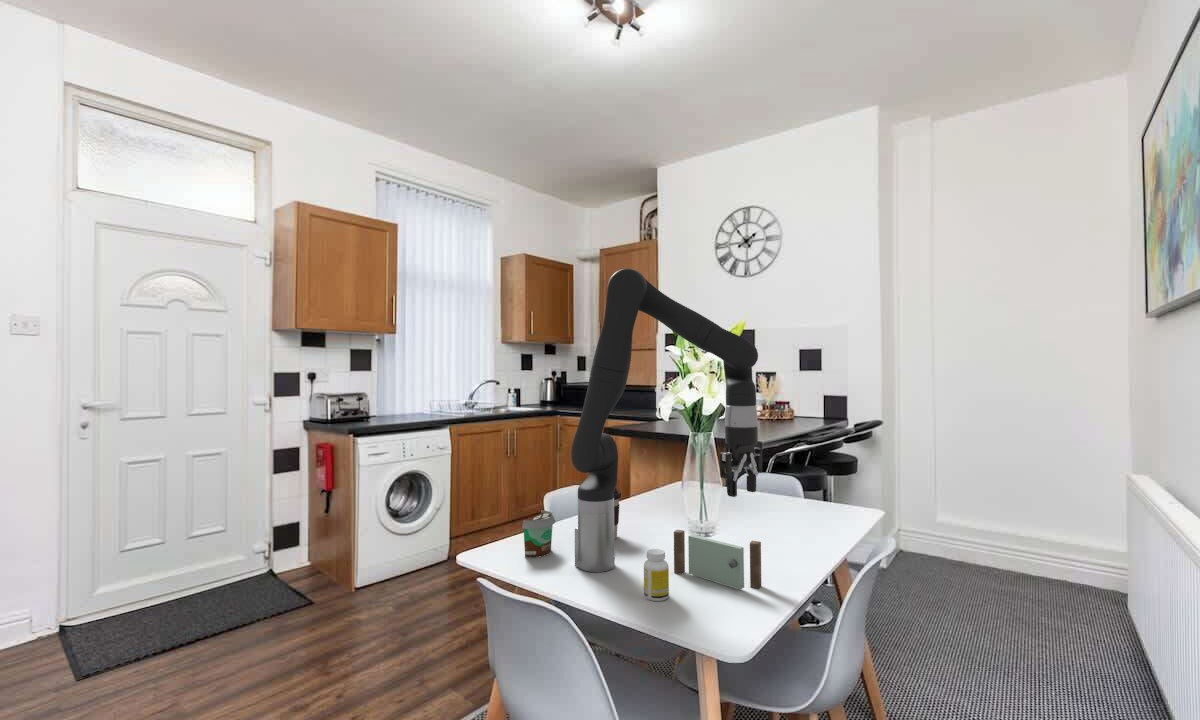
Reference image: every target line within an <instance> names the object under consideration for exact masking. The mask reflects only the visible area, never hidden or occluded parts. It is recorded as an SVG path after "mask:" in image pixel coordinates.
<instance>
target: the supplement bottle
mask: <svg viewBox="0 0 1200 720" xmlns="http://www.w3.org/2000/svg"><path fill="white" fill-rule="evenodd" d="M646 559H647V560H645V561H644V562H643V563H644V564H643V596H644V598H645V599H647V600H648V601H652V602H663V601H666V600H667V599H668V598H669V595H670V592H669V591H670V587H669V586H670V585H669V583H670V580H669V579H670V578H669V577H670V572H669V563H668V562H667V561H666V560H665V559H666V551H665V550H664V549H660V548H651V549H647V551H646Z"/></svg>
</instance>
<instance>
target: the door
mask: <svg viewBox="0 0 1200 720" xmlns="http://www.w3.org/2000/svg"><path fill="white" fill-rule="evenodd" d="M687 542H688V574H689V575H691V576H695V577H698V578H701V579H705V580H708V581H711V582H715V583H718V584H721V585H724V586H728V587H731V588H734V589H738V590H743V589H744V588H745V564H744V562H745V561H744V560H745V558H744V557H745V555H744V553H745V552H744V550H745V549H744V546H741V545H735V544H733V543H732V544H731V543H727V542H724V541H720V540H715V539H711V538H707V537H704V536H700V535H695V534H690V535H688V541H687Z"/></svg>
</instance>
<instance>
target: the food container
mask: <svg viewBox="0 0 1200 720" xmlns="http://www.w3.org/2000/svg"><path fill="white" fill-rule="evenodd" d="M555 523H556V519H555V516H554V514H553V512H551V511H549V510H544V509H543V510H542V509H541V510H540V514H538V515H535V516H532V517H531V518H530V519H529V520H526V519H525V520H523V522H522V529H523V542H524V544H523V545H524V558H529V557H531V558H540V557H539V556H541V557H545V556H548V555H549V554H551V552H552V541H553V540H552V537H553V525H554V524H555ZM547 554H548V555H547ZM544 555H545V556H544Z"/></svg>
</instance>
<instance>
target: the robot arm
mask: <svg viewBox="0 0 1200 720" xmlns="http://www.w3.org/2000/svg"><path fill="white" fill-rule="evenodd" d="M606 286H607V289H606V290H607V291H606V299H605V310H604V317H603V323H602V328H601V331H600V334H599V337H598V341H597V343H596V347H595V351H594V355H593V359H592V363H591V368H590V373H589V378H588V379H589V380H588V385H587V389H586V390H587V391H586V394H585V398H584V402H583V407H582V412H581V414H580V418H579V422H578V425H577V428H576V431H575V434H574V437H573V440H572V442H571V443H572V444H571V450H570V458H571V459H570V460H571V463H572V466H573V467H574V468H575V470H576V471H578V472H580V473H584V474H586V473H587V477H586V478H585V480H584V481H583V482H582V483H580V485H579V486H578V488H577V527H575V528H574V566H575V567H577V568H579V570H582V571H585V572H591V573H602V572H608V571H610V570H613V568H614V567H615V561H616V560H615V551H616V550H615V549H616V548H615V539H614V491H615V488H616V489H617V484H618V473H619V472H618V470H619V469H618V468H619V452H618V446H617V443H616V441H615V439H614V438H613V436H611V435H610V434H609V433H605V432H603V431H604V428H605V424H606V423H607V422H606V421H607V419H608V418H609V416H610V414H611V413H612V411H613V410H614V408H615V407H616V405H617V403H618V402H619V401H620V399H621V397H622V395H623V393H624V392H625V389H626V386H627V381H628V377H629V372H630V369H631V368H630V367H631V360H632V351H633V332H634V328H635V323H636V319H637V316H638V313H639V311H640V312H641V313H644V314H646V315H648V316H649V317H652V318H654V319H655V320H657V321H659V322H660V323H661V324H663V325H664V326H665V327H667V328H668V329H670V330H671V331H672V332H674V333H675V334H676V335H678V336H679V337H680V338H682V339H684V340H686V342H688V343H690V344H692V345H694V346H695V347H696V348H699V349H700V350H702V351H704V352H706V353H710V354H713V355H714V356H716V357H717V358H719V359H720V360H723V370H724V378H725V412H724V435H725V437H724V438H725V439H724V441H725V444H726V445H728V451H727V452H724V451H720V452H719V478H721V479H725V480H726V494H727V496H728V497H731V498H735V497H737V496H738V482H737V479H738V476H739V473H741V472H742V469H744V470H745V473H746V475H747V476H746V491H747V492H749V493H755V492H757V477H758V475H759V474H762V473H763V448H762V447H755V446H756V445H757V444H758V443H759V441H758V440H759V439H758V438H759V437H758V436H759V434H758V433H759V431H758V430H759V429H758V428H759V427H758V411H757V388H756V385H755V383H754V379H753V367H754V366H755V365H756V364H757V361H758V359H759V352H758V349H757V347H756V346H755V344H754V343H752V342H750V341H749V340H748V339H746V338H744V337H743V336H740V335H739V334H736V333H733V332H732V331H730V330H726V329H725V328H724V327H721V326H720V325H718V324H717V323H715V322H714V321H712V320H710V319H709V318H707V317H706V316H704V315H702V314H700V313H699V312H697V311H695V310H693V309H691V308H689V307H687V306H685V305H683V304H682V303H680V302H677V300H674V299H673V298H671V297H669V296H668V295H666V294H665V293H664V292H662V291H660V290H659V289H658V288H656V287H655V286H654V285H653V284H652V283H650V282H649V281H648V280H647V279H646V278H645V277H644V276H643V274H642V273H641V272H639V271H638V270H635V269H631V268H622V269H619V270H617V271H615V272H614V273H613V274H612V275H611V276H610V277H609V280H608V283H607V285H606Z"/></svg>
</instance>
